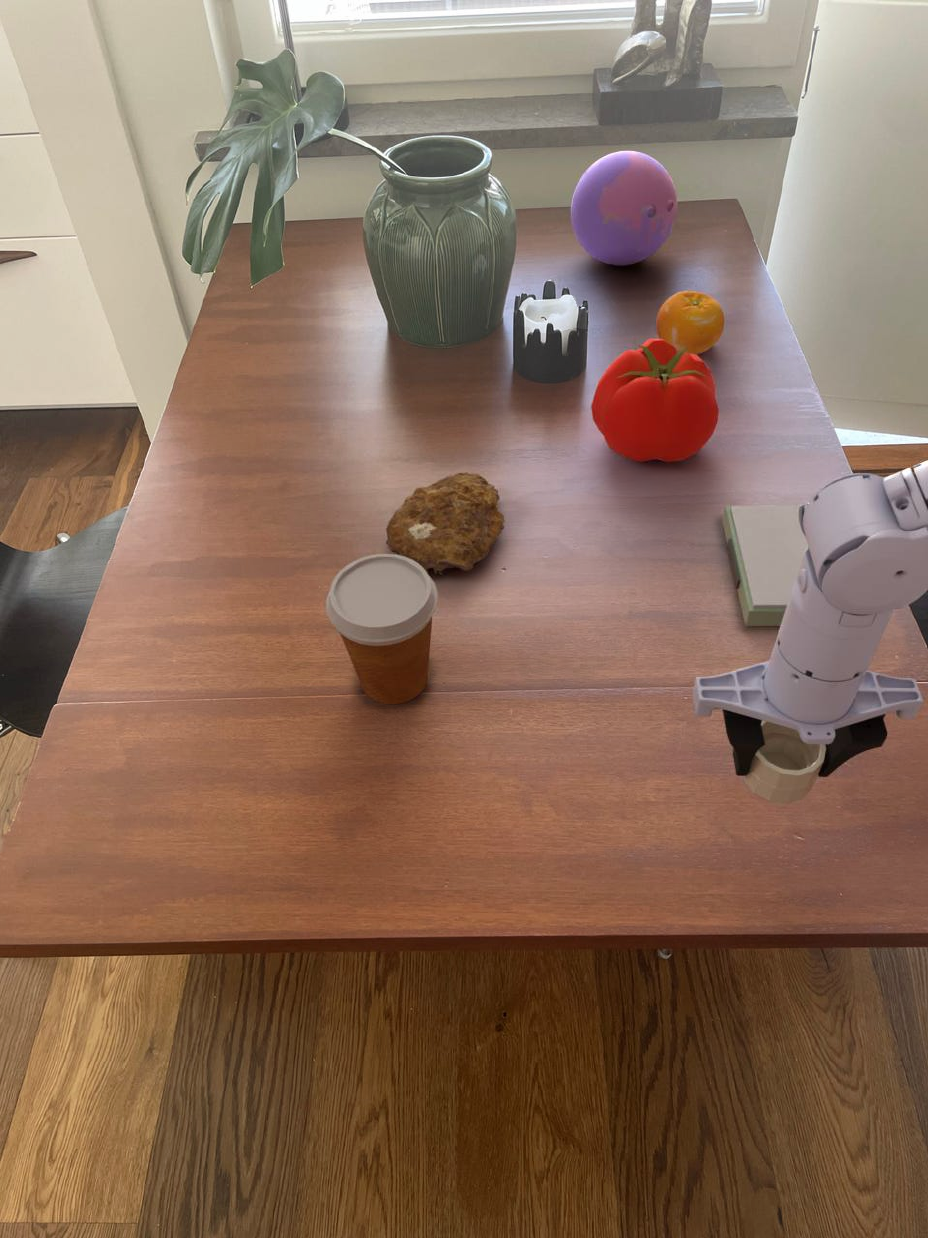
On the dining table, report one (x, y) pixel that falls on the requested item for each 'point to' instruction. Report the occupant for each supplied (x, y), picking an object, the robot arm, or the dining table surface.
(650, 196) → the decorative ball
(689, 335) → the fruit
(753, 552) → the scale
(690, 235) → the dining table surface
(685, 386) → the tomato
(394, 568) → the disposable coffee cup
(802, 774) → the small beige cup
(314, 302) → the dining table surface
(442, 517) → the decorative rock
